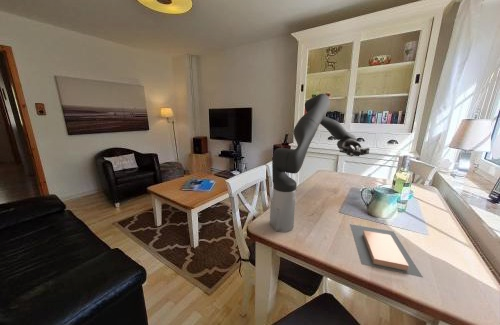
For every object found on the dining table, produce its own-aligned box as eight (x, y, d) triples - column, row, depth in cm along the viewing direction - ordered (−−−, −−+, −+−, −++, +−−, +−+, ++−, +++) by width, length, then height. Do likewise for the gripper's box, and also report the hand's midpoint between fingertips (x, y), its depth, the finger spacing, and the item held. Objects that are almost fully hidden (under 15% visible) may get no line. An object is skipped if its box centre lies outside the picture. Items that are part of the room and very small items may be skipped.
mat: (349, 225, 84) (349, 224, 84) (393, 232, 79) (393, 231, 79) (361, 265, 62) (361, 264, 62) (422, 279, 57) (423, 277, 57)
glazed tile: (363, 230, 76) (374, 258, 61) (390, 234, 73) (408, 265, 59) (362, 235, 77) (373, 264, 62) (389, 239, 74) (407, 271, 59)
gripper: (337, 139, 100) (341, 144, 84) (367, 140, 96) (377, 146, 80) (336, 153, 102) (339, 161, 86) (364, 155, 98) (374, 163, 82)
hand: (357, 153), depth 83 cm, fingers closed
